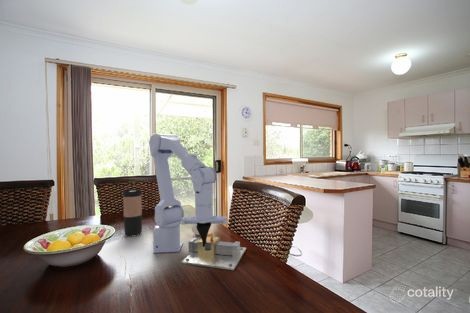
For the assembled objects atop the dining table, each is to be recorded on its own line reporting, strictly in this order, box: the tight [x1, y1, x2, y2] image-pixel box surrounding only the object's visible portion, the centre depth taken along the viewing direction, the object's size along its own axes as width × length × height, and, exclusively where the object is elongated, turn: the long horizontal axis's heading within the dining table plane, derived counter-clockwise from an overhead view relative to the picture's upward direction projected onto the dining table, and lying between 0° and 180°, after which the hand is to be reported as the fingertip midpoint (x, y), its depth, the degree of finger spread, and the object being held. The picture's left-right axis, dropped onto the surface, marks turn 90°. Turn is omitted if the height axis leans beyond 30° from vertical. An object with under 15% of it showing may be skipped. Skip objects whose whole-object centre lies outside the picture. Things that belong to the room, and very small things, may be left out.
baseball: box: [191, 224, 200, 236], centre depth 102 cm, size 7×7×7 cm
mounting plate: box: [180, 246, 247, 271], centre depth 80 cm, size 18×16×1 cm
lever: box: [205, 231, 214, 251], centre depth 77 cm, size 12×3×2 cm, turn 6°
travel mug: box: [122, 188, 143, 237], centre depth 105 cm, size 8×8×20 cm
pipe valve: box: [187, 236, 241, 257], centre depth 81 cm, size 18×6×5 cm, turn 74°
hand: (204, 245), depth 74 cm, fingers closed, pressing on lever
